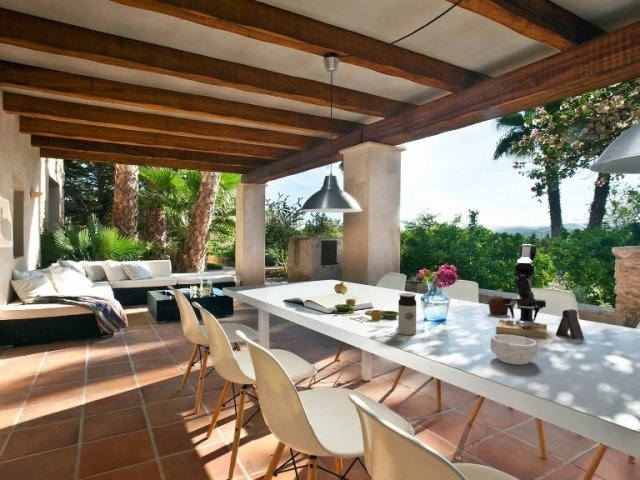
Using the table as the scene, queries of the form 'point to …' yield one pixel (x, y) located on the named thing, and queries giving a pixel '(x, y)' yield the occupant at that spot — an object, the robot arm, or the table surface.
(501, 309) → the muffin
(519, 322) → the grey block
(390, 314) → the tableware set
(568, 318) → the dark brown a-frame stand
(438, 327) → the table surface
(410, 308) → the travel mug
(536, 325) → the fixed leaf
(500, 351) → the paper bowls
